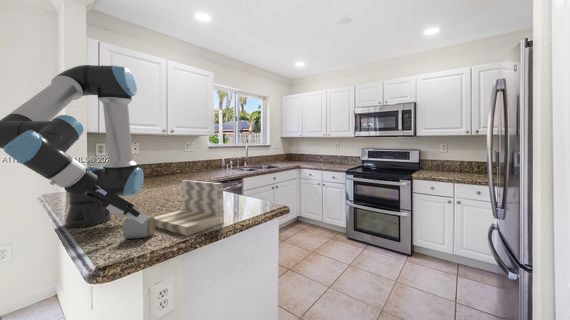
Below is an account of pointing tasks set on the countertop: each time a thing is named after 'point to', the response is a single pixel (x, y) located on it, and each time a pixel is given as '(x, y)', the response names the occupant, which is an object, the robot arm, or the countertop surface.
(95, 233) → the countertop surface
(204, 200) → the wall shelf
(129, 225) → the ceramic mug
